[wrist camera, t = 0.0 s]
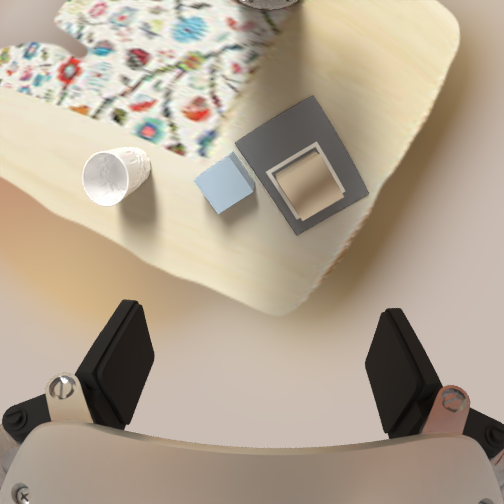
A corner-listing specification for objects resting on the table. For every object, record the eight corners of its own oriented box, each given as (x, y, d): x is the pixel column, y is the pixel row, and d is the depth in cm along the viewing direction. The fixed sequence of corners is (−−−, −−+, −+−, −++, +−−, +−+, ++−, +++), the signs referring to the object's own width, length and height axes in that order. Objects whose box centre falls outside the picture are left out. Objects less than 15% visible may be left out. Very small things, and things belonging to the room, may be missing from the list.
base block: (275, 174, 44) (276, 180, 40) (314, 150, 42) (320, 154, 38) (299, 210, 47) (302, 221, 42) (336, 188, 45) (344, 196, 40)
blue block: (202, 172, 45) (193, 180, 40) (233, 151, 44) (228, 156, 38) (223, 202, 47) (218, 214, 42) (255, 182, 46) (253, 191, 40)
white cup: (110, 146, 43) (78, 155, 34) (152, 140, 43) (125, 147, 34) (116, 190, 47) (86, 208, 38) (156, 187, 46) (132, 204, 37)
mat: (235, 142, 43) (234, 142, 42) (312, 95, 39) (313, 95, 39) (296, 234, 49) (296, 235, 49) (368, 192, 45) (369, 193, 45)
